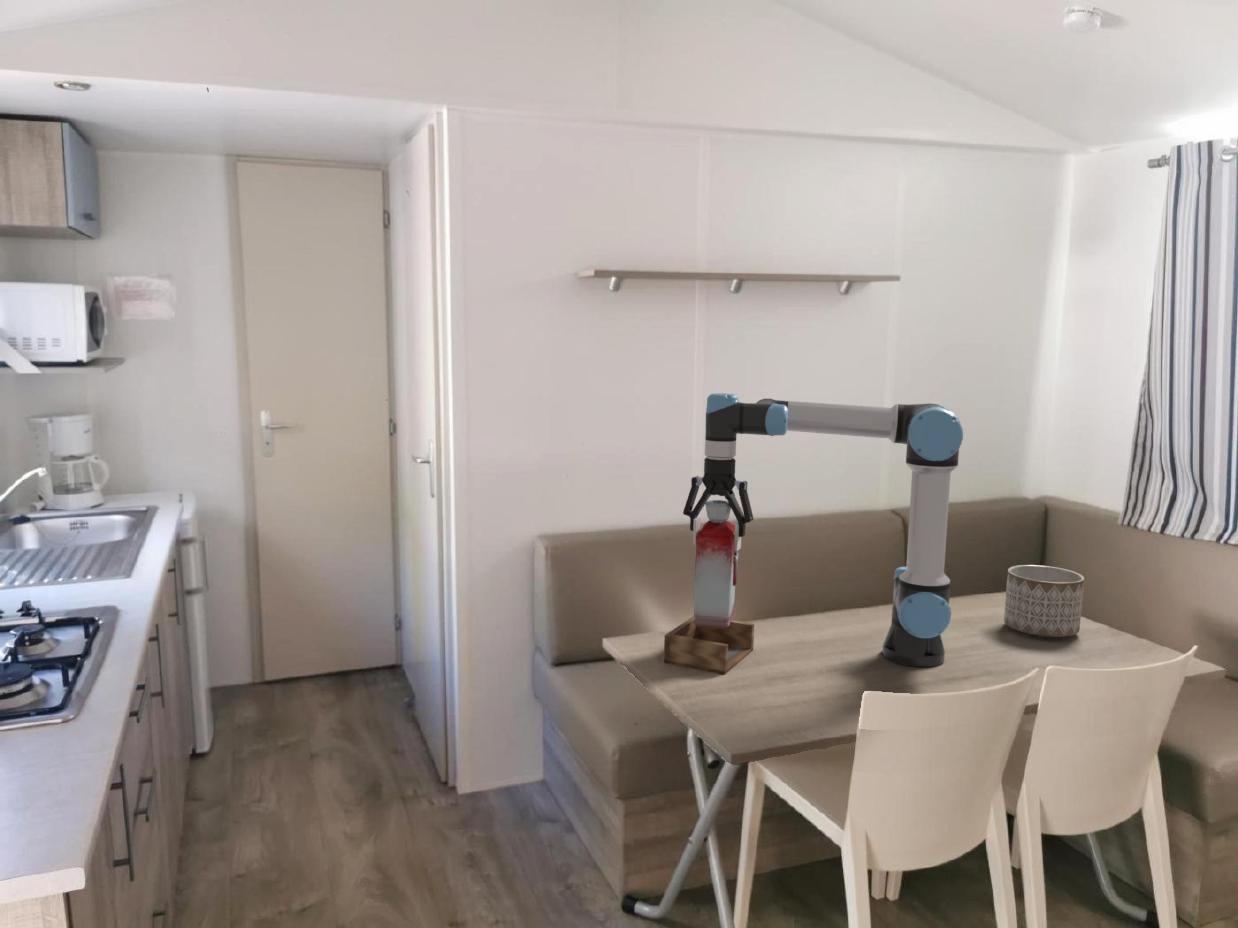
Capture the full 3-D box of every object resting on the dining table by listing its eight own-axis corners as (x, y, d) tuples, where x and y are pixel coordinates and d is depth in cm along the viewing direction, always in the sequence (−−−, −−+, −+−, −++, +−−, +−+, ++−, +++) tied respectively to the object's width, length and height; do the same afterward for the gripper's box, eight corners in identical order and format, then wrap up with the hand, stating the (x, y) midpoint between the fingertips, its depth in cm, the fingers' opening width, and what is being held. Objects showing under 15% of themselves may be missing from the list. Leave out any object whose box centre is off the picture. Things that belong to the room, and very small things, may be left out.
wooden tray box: (753, 650, 253) (754, 623, 252) (725, 674, 236) (726, 646, 235) (695, 639, 261) (696, 614, 260) (663, 662, 243) (664, 635, 242)
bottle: (732, 630, 238) (737, 508, 234) (689, 627, 240) (694, 505, 236) (737, 613, 252) (742, 497, 248) (697, 610, 254) (701, 495, 250)
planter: (1083, 628, 277) (1089, 571, 275) (1073, 647, 261) (1078, 586, 259) (1011, 616, 287) (1015, 561, 285) (996, 633, 271) (1001, 575, 269)
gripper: (769, 459, 239) (765, 549, 242) (683, 451, 249) (680, 538, 252) (759, 463, 232) (755, 555, 235) (671, 455, 242) (668, 543, 245)
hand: (716, 546), depth 244 cm, fingers closed on bottle, 10 cm apart
